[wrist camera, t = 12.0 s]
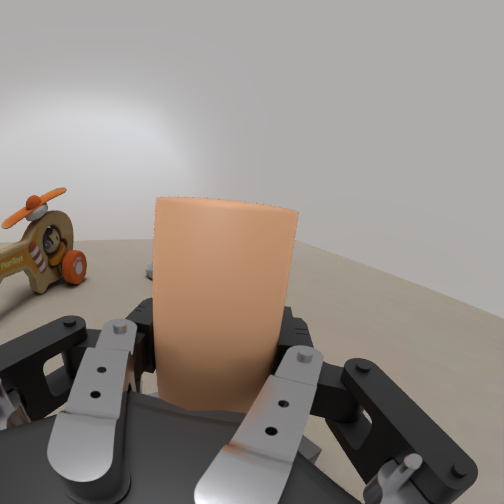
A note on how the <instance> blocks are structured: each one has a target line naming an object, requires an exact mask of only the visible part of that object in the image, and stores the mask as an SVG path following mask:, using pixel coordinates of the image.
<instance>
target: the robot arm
mask: <svg viewBox="0 0 504 504" xmlns="http://www.w3.org/2000/svg"><path fill="white" fill-rule="evenodd" d="M59 353H61V355H62V358H63V362H64V366H62V367H60V368H59V369H57V370H55V371H54V372H52V373H50V374H49V375H47V376H45V375H44V372H43V366H44V363H45V362H46V361H47V360H49V359H50V358H52V357H54V356H56V355H58V354H59ZM155 369H156V362H155V347H154V326H153V298H149V299H146V300H144V301H142V302H141V303H140V304H139V305H138V307H136V308H135V309H134V310H133V311H132V312H131V313H130V314H129V315H128V316H127V317H126V318H125V319H114V320H110V321H108V322H106V323H105V324H104V326H103V328H102V330H95V329H86V323H85V320H84V319H83V318H81V317H79V316H64V317H61V318H59V319H57V320H54V321H52V322H50V323H48V324H46V325H43V326H41V327H39V328H37V329H35V330H33V331H30V332H28V333H26V334H24V335H22V336H20V337H17V338H15V339H13V340H11V341H9V342H7V343H5V344H2V345H0V504H362V503H361V502H360V501H358V500H357V499H356V498H354V497H353V496H352V495H350V494H349V493H348V492H346V491H345V490H344V489H343V488H341V487H340V486H339V485H338V484H336V483H335V482H334V481H333V480H331V479H330V478H329V477H328V476H327V475H325V474H324V473H323V472H322V471H321V470H320V469H318V468H317V467H316V466H315V465H314V464H313V463H312V462H310V461H309V460H308V459H307V458H306V457H305V456H304V455H303V454H301V453H300V452H299V451H298V447H299V444H300V441H301V438H302V435H303V432H304V429H305V426H306V423H307V419H308V416H309V414H311V415H315V416H319V417H323V418H325V421H326V423H327V425H328V427H329V428H330V430H331V431H332V433H333V435H334V436H335V438H336V439H337V441H338V442H339V444H340V445H341V447H342V449H343V450H344V452H345V453H346V455H347V456H348V458H349V459H350V461H351V463H352V464H353V466H354V467H355V469H356V470H357V472H358V473H359V475H360V476H361V478H362V479H363V481H364V482H365V484H366V487H365V488H364V491H363V497H364V500H365V504H451V503H453V502H454V501H455V500H456V499H457V498H458V497H460V496H461V495H462V494H463V493H464V492H465V491H466V490H467V489H468V488H469V487H470V486H472V485H473V484H474V482H475V481H476V479H477V476H478V469H477V466H476V464H475V462H474V461H473V460H472V459H471V458H470V457H469V456H468V455H467V454H466V453H465V452H464V451H463V450H462V449H461V448H460V447H459V446H458V445H457V444H456V443H455V442H454V441H453V440H452V439H451V438H450V437H449V436H448V435H447V434H446V433H445V432H444V431H443V430H442V429H441V428H440V427H439V426H438V425H437V424H436V423H435V422H434V421H433V420H432V419H431V418H430V417H429V416H428V415H427V414H426V413H425V412H424V411H423V410H422V409H421V408H420V407H419V406H418V405H417V404H416V403H415V402H414V401H413V400H412V399H411V398H410V397H409V396H408V395H407V394H406V393H405V392H404V391H403V390H402V389H401V388H399V387H398V386H397V385H396V384H395V383H394V382H393V381H392V380H391V379H390V378H389V377H388V376H387V375H386V374H385V373H384V372H383V371H382V370H381V369H380V368H379V367H378V366H377V365H376V364H375V363H373V362H371V361H369V360H366V359H362V358H353V359H350V360H348V361H346V363H345V365H344V367H339V366H335V365H331V364H328V363H326V362H324V361H323V355H322V353H321V352H320V351H318V350H317V349H315V348H314V347H313V344H312V340H311V337H310V334H309V330H308V327H307V324H306V323H305V322H304V321H303V320H302V319H301V318H295V317H293V316H292V311H291V307H286V306H284V311H283V317H282V323H281V328H280V334H279V338H278V343H277V349H276V354H275V359H274V364H273V369H272V374H271V375H270V376H269V377H268V379H267V381H266V382H265V384H264V386H263V388H262V389H261V391H260V393H259V395H258V396H257V398H256V400H255V402H254V403H253V405H252V407H251V408H250V410H249V412H248V413H241V412H232V411H225V410H186V409H183V408H180V407H178V406H176V405H173V404H171V403H169V402H166V401H164V400H162V399H160V398H157V397H153V396H149V395H145V394H142V374H143V372H144V371H145V372H149V373H154V371H155ZM66 402H67V404H66V407H65V409H64V410H63V411H60V412H59V413H58V414H56V415H53V416H50V417H46V416H47V415H49V414H50V413H51V412H53V411H54V410H56V409H57V408H59V407H60V406H61V405H63V404H64V403H66ZM364 409H365V411H366V412H367V413H368V414H369V416H370V417H371V420H372V424H371V423H370V422H369V420H368V419H367V418H366V417H365V415H364V414H363V411H364ZM44 417H46V418H44Z"/></svg>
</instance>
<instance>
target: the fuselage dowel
mask: <svg viewBox="0 0 504 504" xmlns="http://www.w3.org/2000/svg"><path fill="white" fill-rule="evenodd" d="M297 220H298V212H297V211H294V210H290V209H286V208H281V207H276V206H270V205H264V204H257V203H249V202H241V201H232V200H221V199H210V198H194V197H160V198H156V208H155V223H154V244H153V326H154V347H155V362H156V375H157V385H158V395H159V398H160V399H162V400H164V401H166V402H169V403H171V404H173V405H176V406H178V407H180V408H183V409H186V410H225V411H232V412H241V413H248V412H249V410H250V408H251V407H252V405H253V403H254V402H255V400H256V398H257V396H258V395H259V393H260V391H261V389H262V388H263V386H264V384H265V382H266V381H267V379H268V377H269V376H270V375H271V374H272V369H273V364H274V359H275V354H276V349H277V343H278V338H279V334H280V328H281V323H282V317H283V311H284V305H285V299H286V293H287V287H288V281H289V275H290V269H291V262H292V256H293V249H294V242H295V235H296V227H297Z"/></svg>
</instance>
